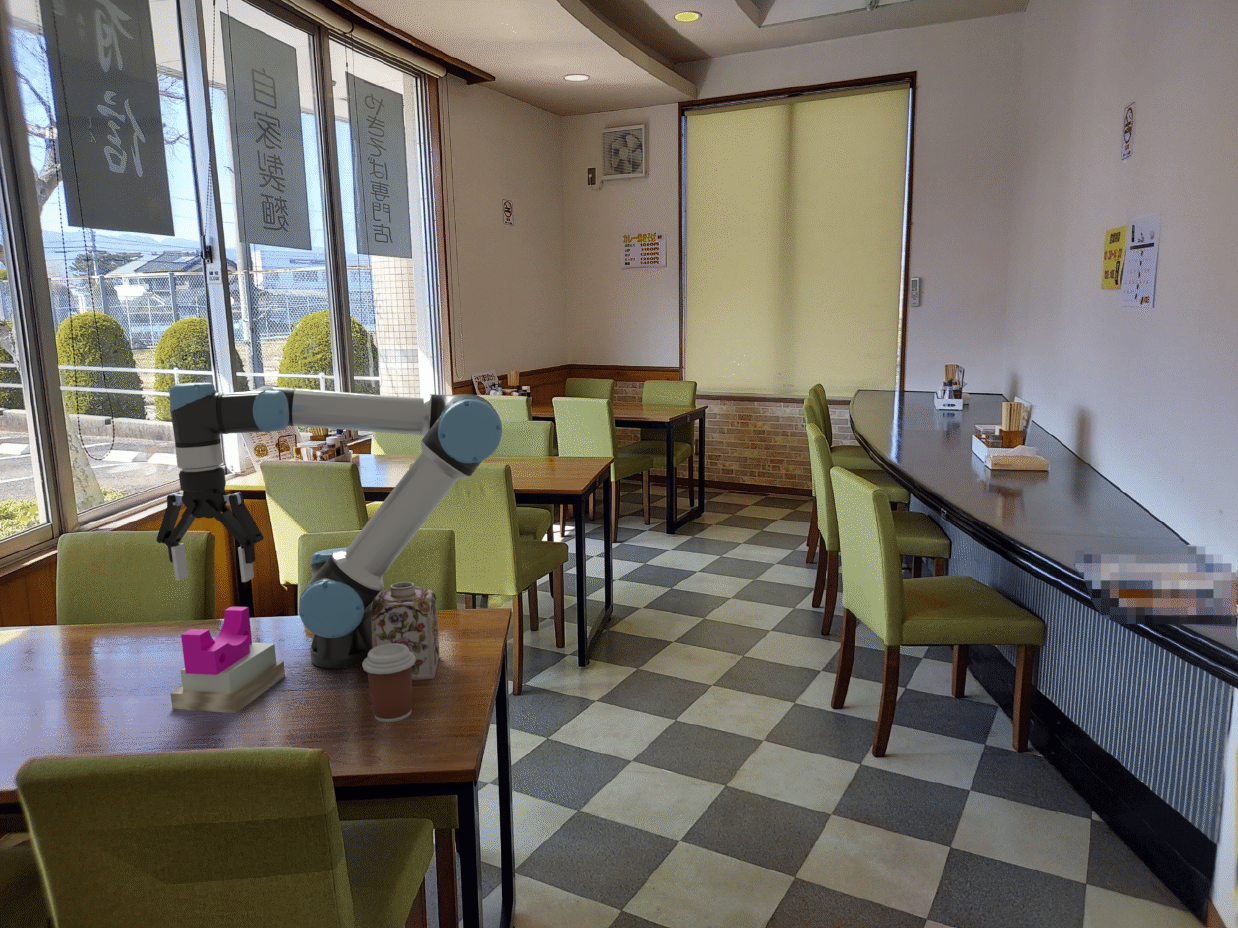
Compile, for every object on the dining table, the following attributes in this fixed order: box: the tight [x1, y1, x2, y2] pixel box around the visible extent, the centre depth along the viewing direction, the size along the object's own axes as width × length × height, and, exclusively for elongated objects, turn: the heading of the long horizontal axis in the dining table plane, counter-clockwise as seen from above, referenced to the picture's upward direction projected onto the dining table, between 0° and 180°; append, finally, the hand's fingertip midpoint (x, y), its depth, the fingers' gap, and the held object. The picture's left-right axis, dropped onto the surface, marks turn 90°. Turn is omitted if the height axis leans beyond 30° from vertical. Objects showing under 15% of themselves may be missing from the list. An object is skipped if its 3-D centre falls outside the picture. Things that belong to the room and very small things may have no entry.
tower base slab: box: [169, 660, 286, 714], centre depth 161 cm, size 13×16×4 cm
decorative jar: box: [370, 581, 440, 681], centre depth 168 cm, size 12×12×18 cm
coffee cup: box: [361, 643, 416, 723], centre depth 150 cm, size 9×9×12 cm
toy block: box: [180, 606, 253, 675], centre depth 159 cm, size 15×6×8 cm, turn 171°
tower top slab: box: [180, 642, 277, 693], centre depth 161 cm, size 10×14×4 cm
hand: (214, 579), depth 157 cm, fingers open, 13 cm apart
